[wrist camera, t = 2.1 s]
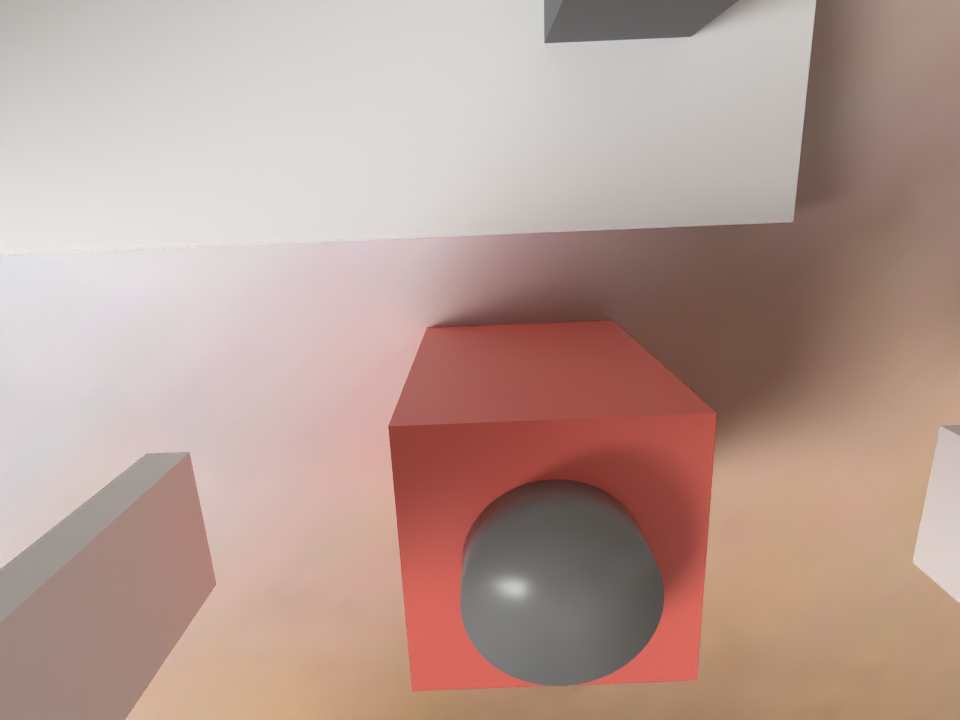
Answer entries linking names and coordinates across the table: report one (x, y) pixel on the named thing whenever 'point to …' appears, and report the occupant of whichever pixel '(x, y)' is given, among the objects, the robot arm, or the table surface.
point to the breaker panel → (392, 118)
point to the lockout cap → (550, 508)
